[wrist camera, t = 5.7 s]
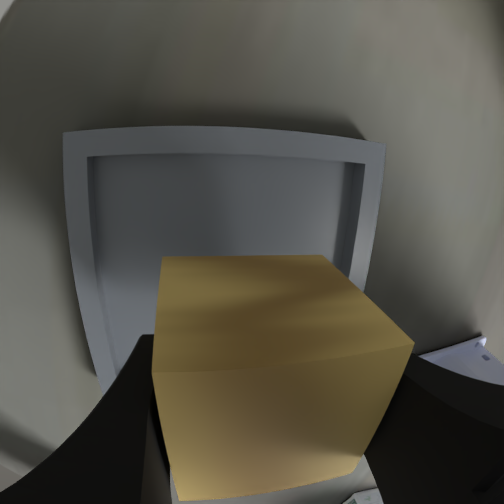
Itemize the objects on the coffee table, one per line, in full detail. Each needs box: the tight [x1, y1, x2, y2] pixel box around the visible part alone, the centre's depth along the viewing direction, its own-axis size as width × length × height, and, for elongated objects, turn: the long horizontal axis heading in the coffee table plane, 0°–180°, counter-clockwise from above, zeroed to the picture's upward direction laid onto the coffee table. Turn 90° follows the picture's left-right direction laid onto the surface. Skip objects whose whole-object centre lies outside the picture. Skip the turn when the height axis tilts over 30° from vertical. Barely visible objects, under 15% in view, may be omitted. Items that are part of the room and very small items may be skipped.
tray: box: [63, 126, 386, 396], centre depth 14 cm, size 13×13×2 cm
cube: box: [152, 255, 415, 501], centre depth 8 cm, size 5×5×5 cm
